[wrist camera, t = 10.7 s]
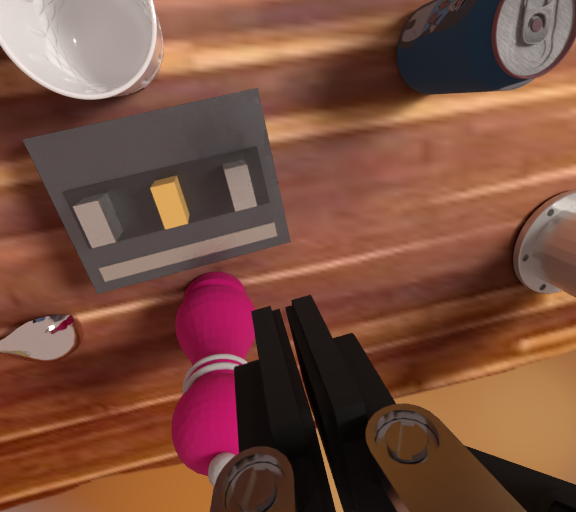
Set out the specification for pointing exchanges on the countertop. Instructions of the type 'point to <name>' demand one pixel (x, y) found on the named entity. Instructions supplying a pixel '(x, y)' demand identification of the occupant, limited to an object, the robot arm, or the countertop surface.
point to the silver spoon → (44, 339)
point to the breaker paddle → (170, 202)
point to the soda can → (484, 44)
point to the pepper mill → (211, 370)
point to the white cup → (84, 44)
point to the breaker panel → (158, 165)
